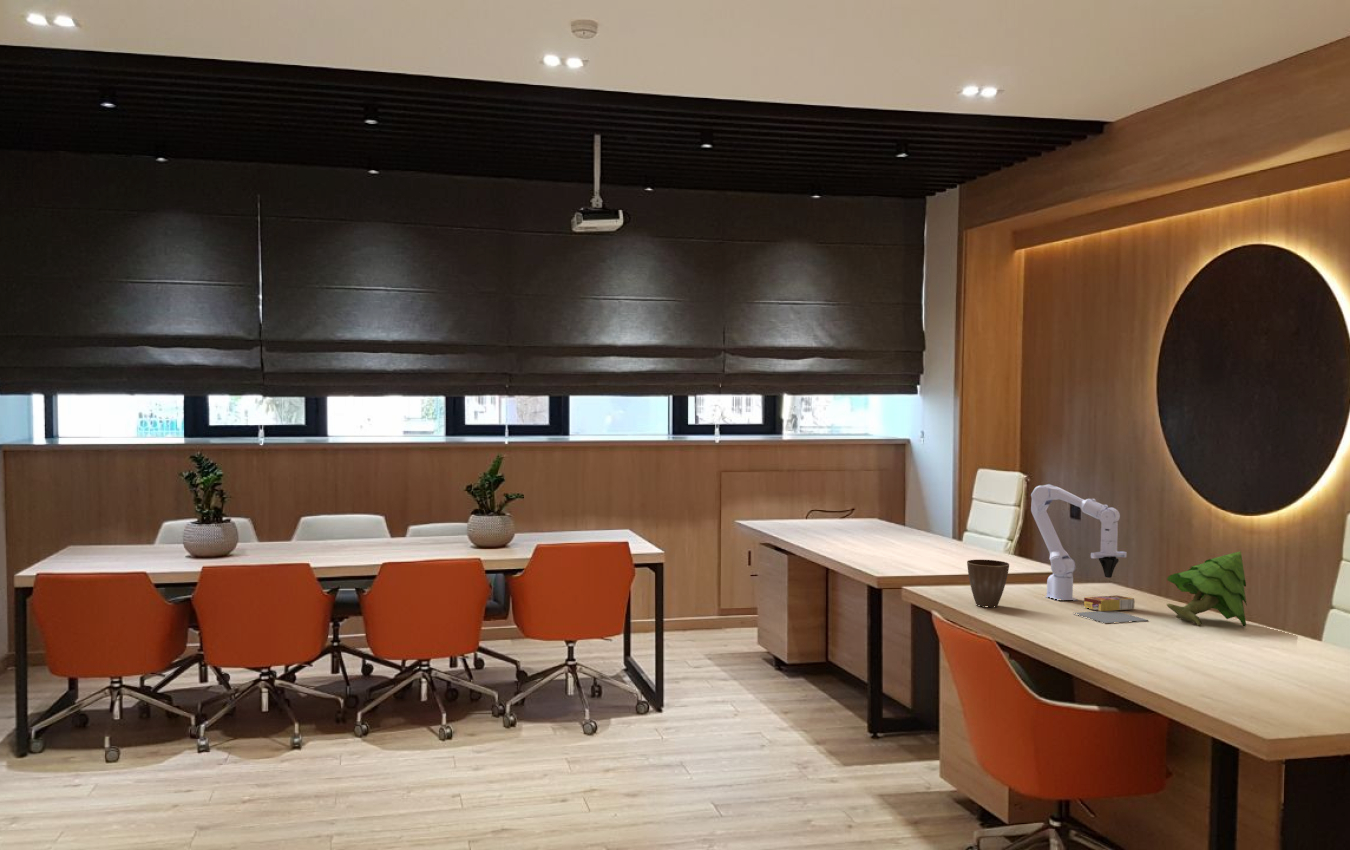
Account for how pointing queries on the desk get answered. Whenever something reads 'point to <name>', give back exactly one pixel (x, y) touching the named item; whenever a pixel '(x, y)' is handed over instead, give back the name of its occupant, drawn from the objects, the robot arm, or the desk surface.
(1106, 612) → the rubber mat
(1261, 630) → the desk surface
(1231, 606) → the decorative tree
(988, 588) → the plant pot
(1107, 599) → the candy box
